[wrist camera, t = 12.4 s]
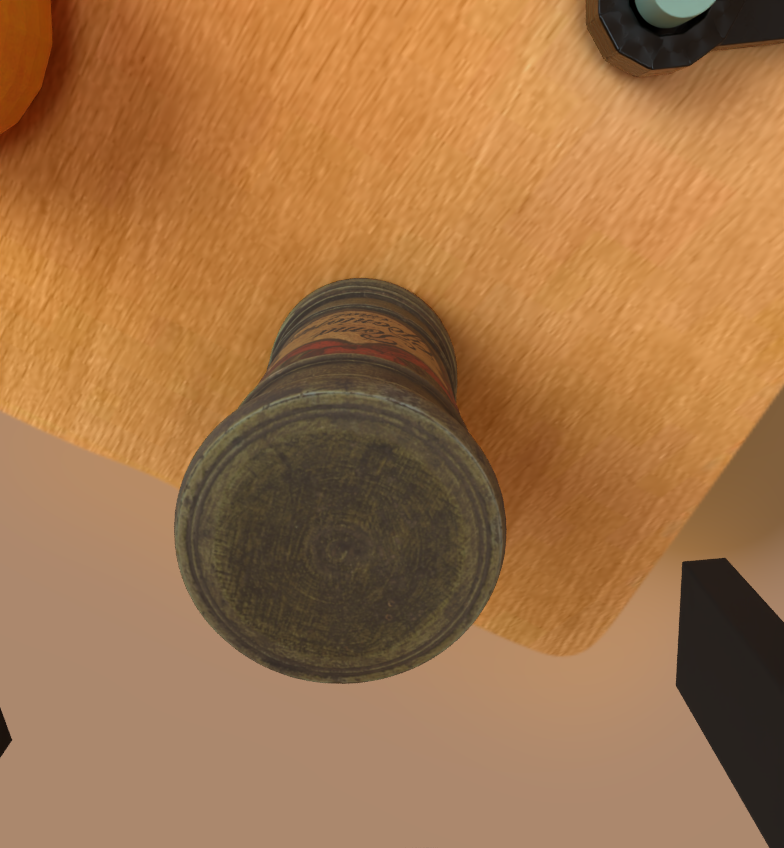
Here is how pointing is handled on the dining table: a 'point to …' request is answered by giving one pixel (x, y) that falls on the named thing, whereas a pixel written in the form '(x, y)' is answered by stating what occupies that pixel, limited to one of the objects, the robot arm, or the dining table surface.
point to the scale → (680, 33)
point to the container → (344, 497)
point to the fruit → (22, 55)
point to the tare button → (671, 11)
